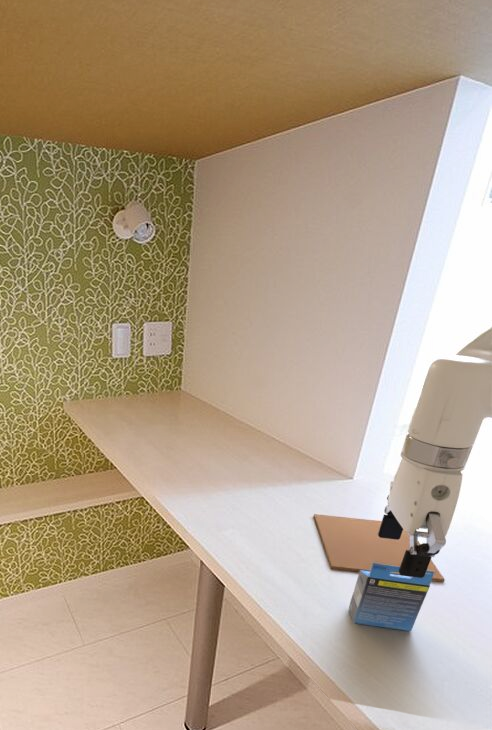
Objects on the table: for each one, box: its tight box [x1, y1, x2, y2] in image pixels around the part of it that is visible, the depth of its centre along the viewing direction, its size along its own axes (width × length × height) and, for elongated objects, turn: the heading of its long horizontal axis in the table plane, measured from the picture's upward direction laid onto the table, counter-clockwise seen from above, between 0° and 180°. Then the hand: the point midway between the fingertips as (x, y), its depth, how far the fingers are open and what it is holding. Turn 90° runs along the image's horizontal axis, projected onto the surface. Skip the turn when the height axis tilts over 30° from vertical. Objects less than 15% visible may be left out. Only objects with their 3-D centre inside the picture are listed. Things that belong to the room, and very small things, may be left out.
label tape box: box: [348, 562, 434, 632], centre depth 69 cm, size 9×4×12 cm, turn 78°
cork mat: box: [313, 513, 446, 583], centre depth 91 cm, size 20×20×1 cm
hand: (398, 555), depth 66 cm, fingers open, 9 cm apart
